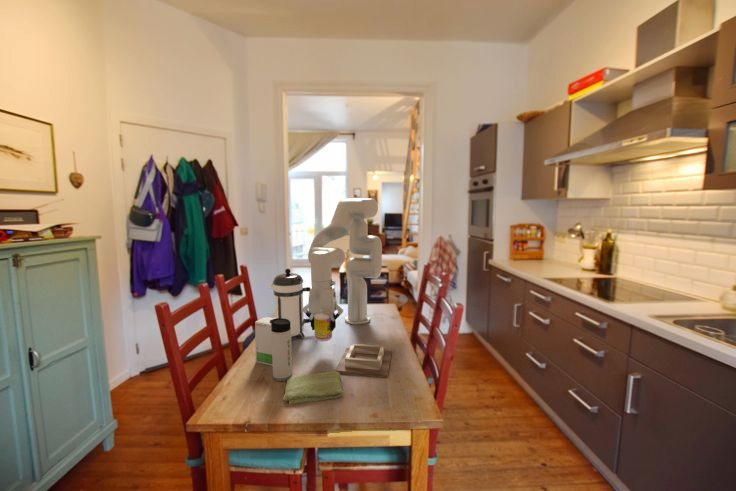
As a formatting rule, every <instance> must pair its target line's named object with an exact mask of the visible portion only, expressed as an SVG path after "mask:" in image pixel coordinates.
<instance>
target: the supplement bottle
mask: <svg viewBox="0 0 736 491" xmlns="http://www.w3.org/2000/svg"><path fill="white" fill-rule="evenodd" d="M319 311H322V310H319ZM330 321H331V318H330V316H329V315H327V314H322V313H320V314H315V315H314V330H313V331H314V339H315V340H316V341H318V342H328V341H330V340H331V339H332V338H333V331H331V329H330Z"/></svg>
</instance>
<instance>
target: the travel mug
mask: <svg viewBox="0 0 736 491" xmlns="http://www.w3.org/2000/svg"><path fill="white" fill-rule="evenodd" d="M270 324H271V337H272V362H273V366H272V379H273V380H274V381H277V382H284V381H287V380H288V379H289V378H291V377H293V359H292V358H293V355H292V354H293V351H292V337H291V326H290V321H289V320H288V319H284V318H276V319H273V320H270Z"/></svg>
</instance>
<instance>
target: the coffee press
mask: <svg viewBox="0 0 736 491" xmlns="http://www.w3.org/2000/svg"><path fill="white" fill-rule="evenodd" d="M284 272H285V273H281V274H278V275H276V276H275V277H274V278H273V281H272V283H271V284H270V286H269V289H273V296H274V298H273V299H274V300H273V301H274V318H284V319H288V320H289V321H290V326H291V338H292V337H296V336H298V337H299V339H304V338H305V336H306V335H305V333H304V332H303V331H304V330H305V329H304V328H305V327H304V325H305V324H309V323H310V324H311V320H310V319H309V318H304V312H303V311H302V309H303V308H304V299H303V298H304V292H310V288H311V286H310V287H308V286H306V287H304V286H303V283H304V279H303V277H302V276H301V275H300V274H298V273H292V272H291V269H290V268H286V269H285V270H284Z"/></svg>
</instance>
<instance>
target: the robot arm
mask: <svg viewBox="0 0 736 491" xmlns="http://www.w3.org/2000/svg"><path fill="white" fill-rule="evenodd" d="M378 210H379V204H378V202H377V200H376V199H374V198H345V199H342V200H340V201H338V204H336V208H335V211H334V214H333V216H332V219H331V221H330V224H329V225H328V226H326V227H325V228H323V229H322V230H321V231H320V232H318V234H316V235H315V237H314V238H313V240H312V241H311V244H310V247H309V250H308V254H307V260H308V262H309V264H310V275H311V277H310V279H311V286H310V292H309V291H308V292H309V294H308V303H307V304H306V305H305V306H303V309H302V311H303V314H305V316H307V317H308V318H307V319H310V320H311V322H310V327H311V330H312V331H315V330H314V315H315V314H320V313H322V314H327V315H329V316H330V318H331V321H330V329H331V331H332V332H334V330H335V329H336V327H337V326H336V323H337V322H336V320H337V319H338V318H339V317H340V315H342V314H343V313H344V309H343V308H342V307H341V306H340V305H338V303H337V294H336V289H335V286H336V281H334V280H333V276H332V269H333V268H339V267H340V266H342V265H343V264H344V262H345V259H346V254H345V251H344V250H343V249H342V248H339V247H329V246H328V247H327V246H326V245H328V244H329V243H330V242H333V241H336V240H338V239H342V238H343V237H346V236H348V234H349V240H348V241H349V246H348V247H349V248H348V249H349V252H350V253H351V254H353V255H356V257H350V258H348V259H347V260H346V262H345V267H344V268H345V273H346V279H347V315H346V316H345V317H344V321H345V322H346V323H347V324H350V325H365V324H368V323H370V322H371V317H370V316H369V315H368V285H367V282H366V280H365V278H366V279H378V278H380V276H381V274H382V265H383V264H382V261H383V260H382V259H383V243H382V240H381V238H380V237H379V236H377V235H369V234H368V224H367V222H366V219H372V218H374V217H375V216H377V214H378ZM357 255H359V256H370V257H357ZM319 310H322V311H319ZM335 311H337V313H335Z"/></svg>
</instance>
